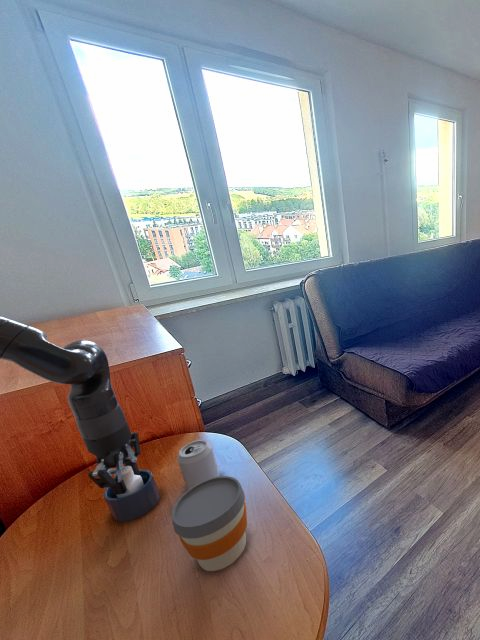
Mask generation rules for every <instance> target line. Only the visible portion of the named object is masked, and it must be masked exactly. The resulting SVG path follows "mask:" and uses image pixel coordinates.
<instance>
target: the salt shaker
mask: <svg viewBox="0 0 480 640" xmlns="http://www.w3.org/2000/svg"><path fill="white" fill-rule="evenodd" d="M121 474H122V479H123V481H124V483H125V485H126V488H127V491H126V492H125V493H124V494H118V495H116V496H117V498H121V497H125V496H128V495H130V494H132V493H134V492H136V491H137V490H139V489H140V488H142V487H143V486H144V483H143V480H142V477H141V476H140V475H134V472H133V470H132V467H131V466H124V465H123V470H122V471H121ZM113 475H114V477H115V474H113Z"/></svg>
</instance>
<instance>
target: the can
mask: <svg viewBox="0 0 480 640" xmlns="http://www.w3.org/2000/svg"><path fill="white" fill-rule="evenodd" d="M176 459H177V462H178V465H179V468H180V471H181V474H182V477H183V480H184V483H185V487H186V489H187V491H188V490H189V489H190V488H192V487H193V486H195V485H196V484H198V483H200V482H202V481H204V480H207V479H210V478H213V477H218V476H220V471H219V468H218V463H217V461H216V457H215V452H214V450H213V447H212V445H211V443H208V441H207V440H205V439H197V440H193V441H190V442H188V443H187V444H185V445H184V446H182V447H181V448H180V449H179V451H178V455H177V458H176Z"/></svg>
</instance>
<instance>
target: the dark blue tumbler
mask: <svg viewBox="0 0 480 640" xmlns="http://www.w3.org/2000/svg"><path fill="white" fill-rule="evenodd" d="M139 472H140V474H139V475H140V476H141V477H142V480H143V483H144V486H143V487H142V488H140V489H139V490H137V491H136V492H134V493H132V494H130V495H128V496H125V497H121V498H117V496H116V494H114V493H113V491H112V489H111V487H106V488H105V490H104V492H103V498H104V501H105V503H106V505H107V507H108V510H109V511H110V513H111V516H112V518H113V519H114V520H115V521H116V522H121V523H122V522H124V523H125V522H129V521H133V520H136V519H138V518H140V517H143V516H144V515H146V514H147V513H149V512H150V511H151V510H153V508H154V507H155V506H156V505H158V502H159V500H160V498H161V494H160V491H159V489H158V486H157V482H156V480H155V478H154V476H153V472H152V471H150V470H148V469H139Z"/></svg>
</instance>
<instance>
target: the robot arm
mask: <svg viewBox="0 0 480 640" xmlns="http://www.w3.org/2000/svg"><path fill="white" fill-rule="evenodd" d="M0 360H4V361H8V362H11V363H14V364H15V365H17V366H19V367H21V368H22V369H24V370H26V371H28V372H30V373H32V374H34V375H36V376H37V377H40V378H42V379H44V380H46V381H49V382H52V383H55V384H60V385H70V389H69V392H68V394H67V402H68V405H69V408H70V410H71V412H72V414H73V416H74V419H75V423H76V427H77V429H78V432H79V434H80V436H81V439H82V440H83V443H84V445H85V448H86V449H87V452H88V453H90V454H92V455H93V456H95V457H96V465H97V466H96V467H95V469H94V470H90V471H89V472H88V474H87V476H88V478H89V479H90V480H92V482H94V484H96V486H97V487H98V488H99V489H106V488H107V487H111V489H112V491H113V493H114V494H116V495H118V494H124V493H125V492H126V491H127V488H126V485H125V483H124V481H123V479H122V474H121V471H122V470H123V467H124V466H131V467H132V470H133V472H134V475H139V474H140V472H139V470H140V469H139V466H138V462H137V461H138V456H140V455H141V446H140V439H139V433H138V431H135V432H132V431H131V429H130V426H129V423H128V421H127V419H126V415H125V413H124V411H123V408H122V407H121V405H120V403H119V401H118V399H117V396H116V394H115V391H114V389H113V387H112V381H111V372H110V371H111V370H110V365H109V360H108V356H107V354H106V352H105V350H104V349H103V348H102V347H101V345H99V344H97V343H95V342H94V341H91V340H85V339H84V340H83V339H82V340H81V339H80V340H74V341H72V342H70V343H67V344H66V345H65V346H63V347H60V346H58V345H56V344H54V343H52V342H50V341H48V335H47V333H46V332H44V331H43V330H41V329H39V328H36V327H33V326H30V325H28V324H25V323H22V322H19V321H16V320H14V319H10V318H7V317H5V316H1V315H0ZM132 448H134V450H133V449H132ZM114 474H115V476H114V477H113V475H114Z"/></svg>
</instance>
